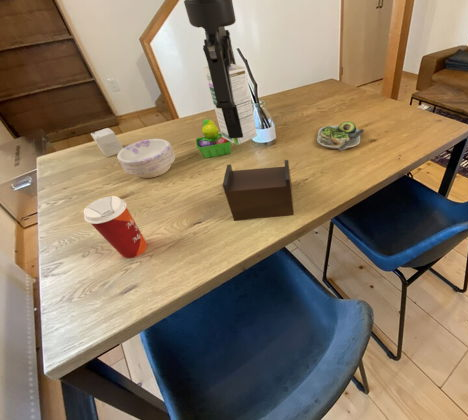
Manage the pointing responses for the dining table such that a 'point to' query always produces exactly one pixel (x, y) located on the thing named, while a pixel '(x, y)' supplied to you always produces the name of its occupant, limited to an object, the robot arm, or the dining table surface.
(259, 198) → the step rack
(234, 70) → the syrup box
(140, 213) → the dining table surface
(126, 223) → the paper cup
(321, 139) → the salad plate
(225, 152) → the fruit basket
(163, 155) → the paper bowls
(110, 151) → the product carton
